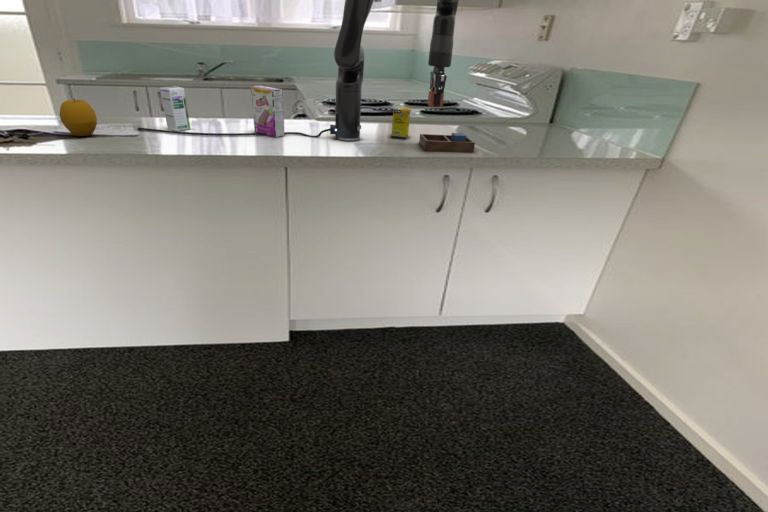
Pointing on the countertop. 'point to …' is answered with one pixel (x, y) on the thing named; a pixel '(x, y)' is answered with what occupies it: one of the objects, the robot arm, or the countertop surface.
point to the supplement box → (400, 122)
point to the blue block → (458, 137)
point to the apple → (78, 117)
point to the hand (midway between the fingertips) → (434, 104)
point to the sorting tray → (445, 143)
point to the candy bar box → (268, 110)
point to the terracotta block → (431, 99)
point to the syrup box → (175, 108)
